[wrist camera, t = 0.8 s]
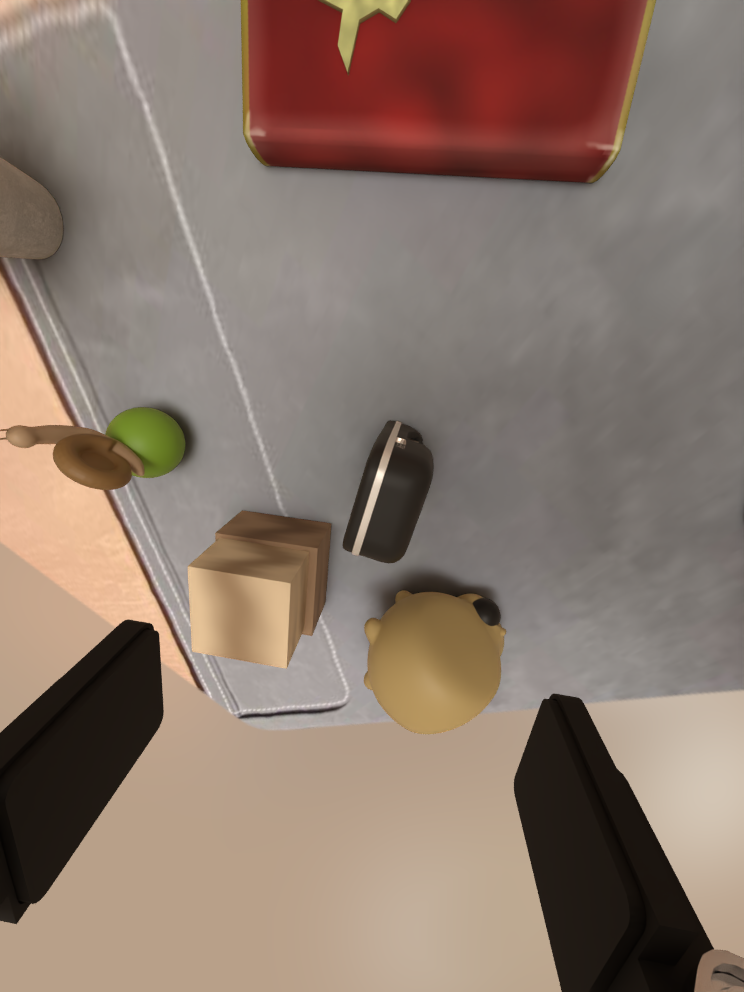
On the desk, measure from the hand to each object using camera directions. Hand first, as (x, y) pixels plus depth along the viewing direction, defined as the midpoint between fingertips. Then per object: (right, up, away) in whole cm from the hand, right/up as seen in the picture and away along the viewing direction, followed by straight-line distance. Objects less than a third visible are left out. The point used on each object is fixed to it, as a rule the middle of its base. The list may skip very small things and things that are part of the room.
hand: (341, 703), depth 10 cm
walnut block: (-7, 0, +27) cm, 28 cm away
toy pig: (+6, -6, +27) cm, 28 cm away
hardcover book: (+5, +31, +15) cm, 35 cm away
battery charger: (+3, +8, +22) cm, 24 cm away
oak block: (-8, -2, +22) cm, 23 cm away
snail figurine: (-17, +10, +24) cm, 31 cm away
